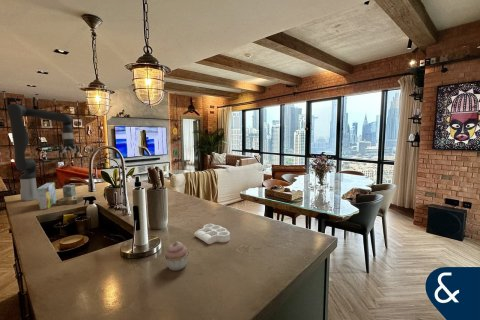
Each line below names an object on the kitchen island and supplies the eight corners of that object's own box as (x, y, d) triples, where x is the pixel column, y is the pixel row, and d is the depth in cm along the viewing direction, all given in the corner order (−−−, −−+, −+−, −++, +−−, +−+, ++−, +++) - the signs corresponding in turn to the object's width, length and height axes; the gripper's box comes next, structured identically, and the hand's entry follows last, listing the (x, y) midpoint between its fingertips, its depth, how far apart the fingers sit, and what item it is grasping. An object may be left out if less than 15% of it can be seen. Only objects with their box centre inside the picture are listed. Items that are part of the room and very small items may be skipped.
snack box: (48, 202, 180) (46, 182, 178) (57, 201, 182) (55, 182, 181) (38, 210, 161) (35, 188, 159) (48, 208, 163) (46, 187, 162)
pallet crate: (63, 199, 174) (62, 186, 173) (68, 197, 180) (66, 185, 179) (72, 199, 175) (70, 186, 174) (76, 197, 181) (75, 184, 180)
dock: (56, 205, 172) (55, 200, 171) (64, 201, 182) (63, 197, 181) (77, 203, 174) (76, 199, 173) (83, 200, 184) (83, 196, 183)
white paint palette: (191, 235, 116) (215, 227, 126) (211, 248, 102) (236, 238, 112) (190, 228, 116) (215, 221, 125) (210, 241, 102) (236, 231, 112)
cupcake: (159, 266, 88) (158, 241, 87) (181, 257, 95) (180, 233, 94) (172, 277, 82) (170, 249, 81) (194, 266, 88) (193, 240, 87)
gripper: (56, 138, 191) (58, 158, 192) (75, 138, 193) (77, 157, 195) (61, 138, 198) (63, 157, 200) (79, 138, 200) (81, 157, 202)
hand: (70, 157), depth 197 cm, fingers open, 8 cm apart
